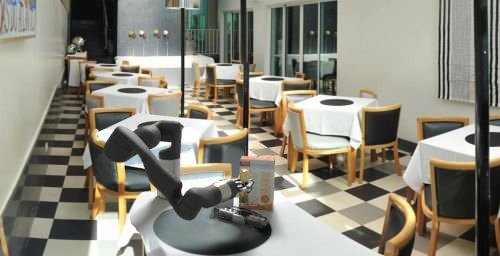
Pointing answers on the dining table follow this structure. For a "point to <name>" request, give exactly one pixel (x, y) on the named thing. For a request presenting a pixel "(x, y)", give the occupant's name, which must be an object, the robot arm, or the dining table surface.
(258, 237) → the dining table surface
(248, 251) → the dining table surface
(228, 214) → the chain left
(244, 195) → the link pin
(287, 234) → the dining table surface
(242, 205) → the cracker box
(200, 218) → the dining table surface
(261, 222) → the chain right
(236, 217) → the link seat
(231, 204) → the medicine box
